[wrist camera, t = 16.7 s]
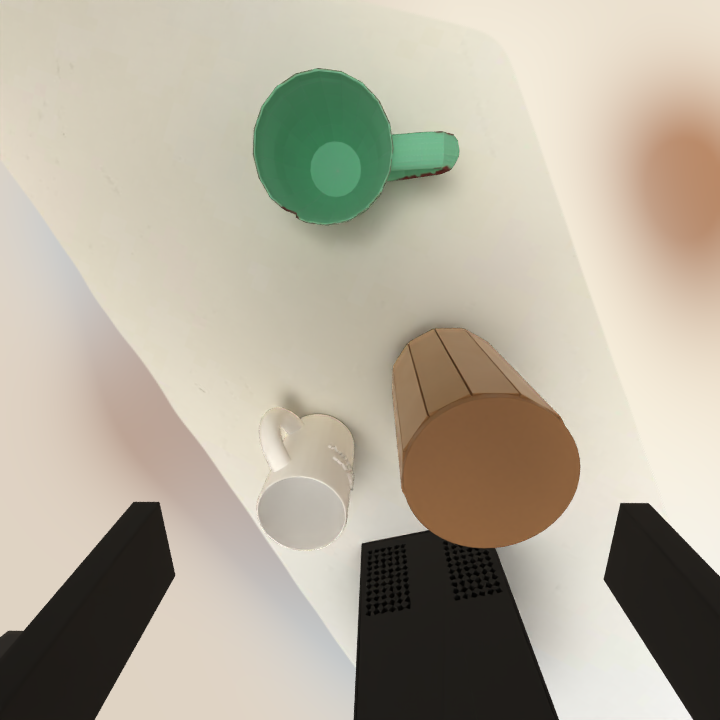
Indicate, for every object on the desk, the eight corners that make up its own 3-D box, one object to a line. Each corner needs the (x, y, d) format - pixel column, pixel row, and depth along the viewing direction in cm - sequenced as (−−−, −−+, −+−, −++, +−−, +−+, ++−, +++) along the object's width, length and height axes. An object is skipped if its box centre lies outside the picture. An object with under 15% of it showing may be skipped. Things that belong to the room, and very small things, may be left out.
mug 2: (288, 227, 40) (260, 227, 30) (278, 112, 36) (244, 71, 27) (440, 222, 39) (461, 220, 29) (443, 104, 36) (468, 59, 26)
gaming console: (391, 633, 55) (408, 1064, 27) (361, 543, 51) (343, 944, 22) (505, 614, 53) (652, 1053, 25) (484, 519, 49) (634, 921, 21)
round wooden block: (393, 328, 38) (404, 396, 22) (505, 328, 37) (594, 398, 22) (391, 427, 41) (400, 547, 26) (494, 428, 40) (566, 550, 25)
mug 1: (311, 370, 44) (289, 420, 33) (369, 454, 47) (367, 527, 35) (250, 406, 46) (208, 466, 34) (310, 485, 48) (289, 565, 37)
